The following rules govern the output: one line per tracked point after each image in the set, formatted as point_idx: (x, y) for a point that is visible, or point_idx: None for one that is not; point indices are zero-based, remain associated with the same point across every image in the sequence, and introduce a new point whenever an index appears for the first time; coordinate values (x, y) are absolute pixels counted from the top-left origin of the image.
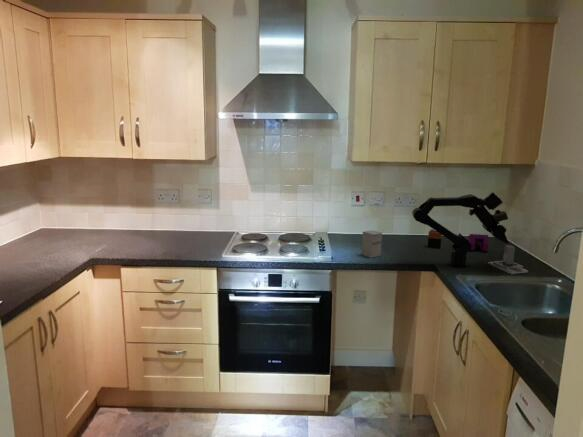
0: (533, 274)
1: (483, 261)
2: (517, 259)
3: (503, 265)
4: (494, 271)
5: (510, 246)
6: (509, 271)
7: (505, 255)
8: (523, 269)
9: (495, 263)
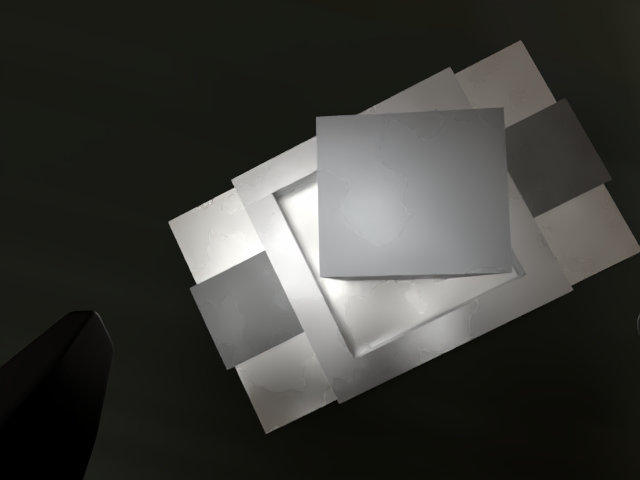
0: (571, 7)
1: (171, 453)
2: (20, 35)
3: (489, 310)
4: (567, 428)
5: (426, 184)
6: (606, 267)
7: (428, 277)
8: (490, 82)
9: (383, 381)
